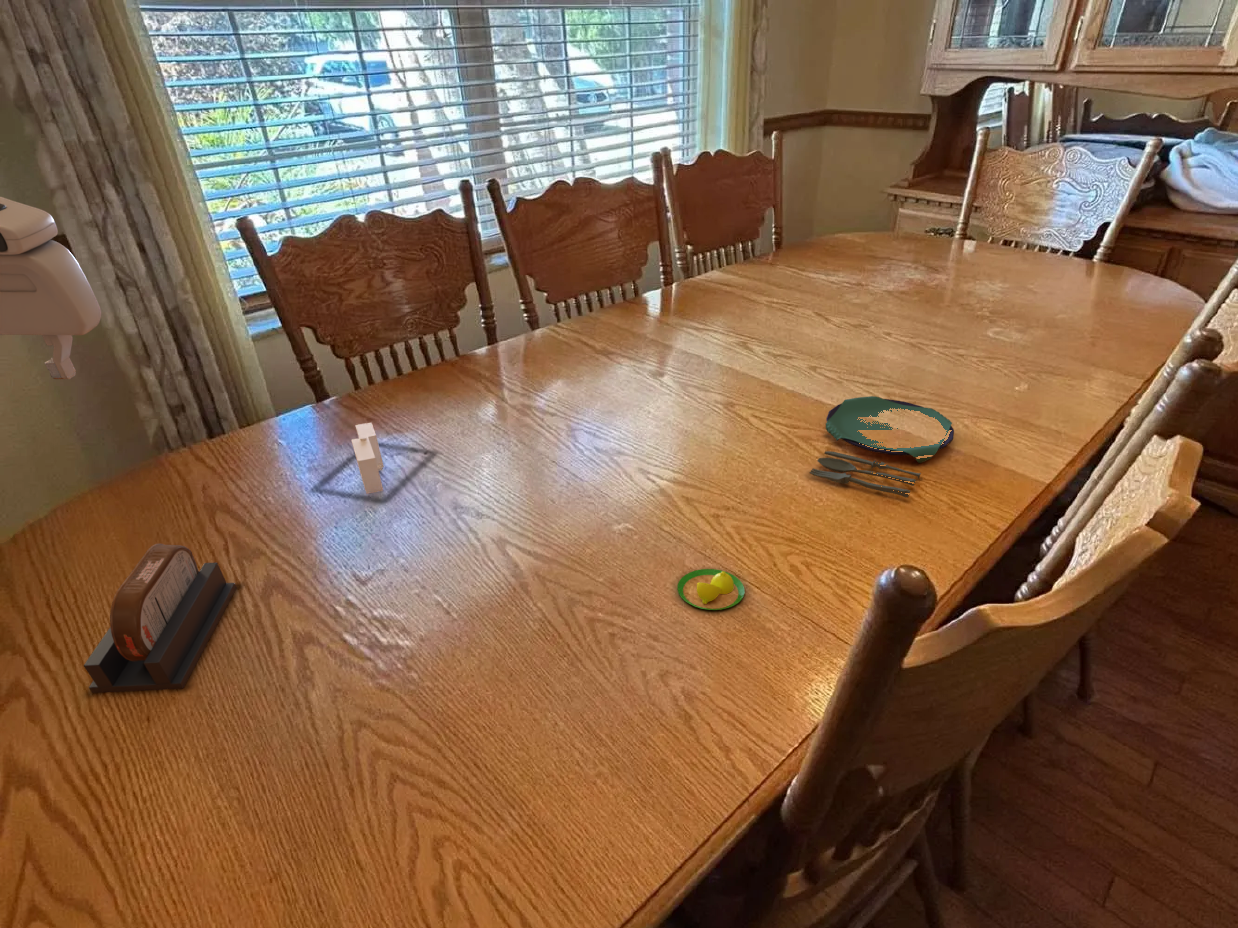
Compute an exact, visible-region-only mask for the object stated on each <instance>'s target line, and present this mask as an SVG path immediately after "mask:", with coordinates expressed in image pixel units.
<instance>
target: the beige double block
mask: <svg viewBox="0 0 1238 928" xmlns="http://www.w3.org/2000/svg"><path fill="white" fill-rule="evenodd" d="M354 426H355V431H356V434H357V437H358V438H352V439H351V440H350V441H351V444H352V448H353V451H354V456H355V459H356V462H357V467H358V470H359V474H360V478H361V480H362V483H363V487H364V490H365V493H366V495H368V494H373V493H379V492H384V488H383V484H382V479H381V475H380V471H382V470H383V469H382V468H385V465H384V461H383V458H382V453H381V450H380V449H381V448H380V445H379V441H378V437H377V434H376V431H375V428H374V426H373V422H364V423H359V424H355V425H354Z"/></svg>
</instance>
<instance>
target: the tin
mask: <svg viewBox="0 0 1238 928" xmlns="http://www.w3.org/2000/svg"><path fill="white" fill-rule="evenodd" d="M199 571H200V570H199V568H198V565H197V561H196V559H195V557H194V555H193V552H192V550H191V549H190V548H188V547H187V546H185V545H180V544H164V543H154V544H153V545H151V546H150V547H149V548H148V549H147V550H146V552H145V553H144V554H143V556H142V557H141V558H140V559H139V561H138V562H137V564H136V565H135V566H134V568H133V569H132V570H131V572H130V573H129V575H128V576H127V577H126V578H125V580H124V581H123V582H122V583H121V584H120V586H119V588H118V589H117V590H116V592H115V594H114V596H113V598H112V602H111V606H110V612H109V613H110V615H109V625H110V627H109V628H111V634H112V638H113V641H114V644H115V646H116V648H117V650H118V651H119V653H120V654H121V655H122V656H123V657H124V658H126V659H127V660H130V661H139V660H146V658H147V656H148V655H149V653H150V651H151V650H152V648H153V647H154V645H155V643H156V642H157V640H158V638H159V637H160V635H161V633H162V632H163V630H164V629H165V627H166V625H167V624H168V622H169V620H170V619H171V617H172V615H173V614H174V612H175V610H176V609H177V607H178V606H179V604H180V602H181V601H182V599H183V597H184V596H185V594H186V592H187V591H188V589H189V588H190V586H191V584H192V583H193V581H194V579H195V578H196V576H197V574H198V573H199Z"/></svg>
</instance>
